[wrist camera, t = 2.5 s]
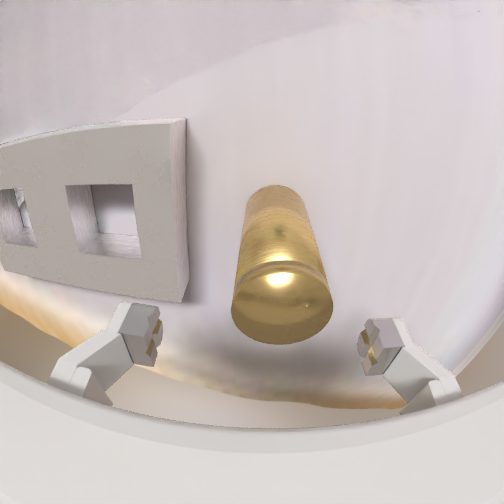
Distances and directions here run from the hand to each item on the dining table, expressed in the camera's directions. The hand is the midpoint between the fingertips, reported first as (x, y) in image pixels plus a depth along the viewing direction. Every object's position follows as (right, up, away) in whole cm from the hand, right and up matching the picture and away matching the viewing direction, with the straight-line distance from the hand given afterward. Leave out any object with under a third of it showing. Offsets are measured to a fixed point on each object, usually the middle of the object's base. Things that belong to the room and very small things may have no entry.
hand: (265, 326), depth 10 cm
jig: (-15, +7, +8) cm, 18 cm away
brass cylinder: (+1, +5, +8) cm, 10 cm away
